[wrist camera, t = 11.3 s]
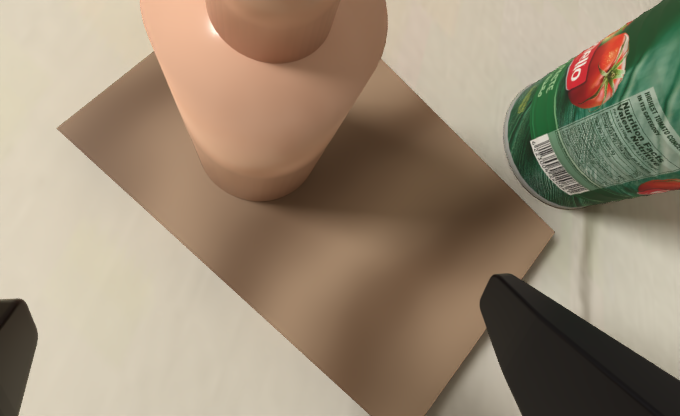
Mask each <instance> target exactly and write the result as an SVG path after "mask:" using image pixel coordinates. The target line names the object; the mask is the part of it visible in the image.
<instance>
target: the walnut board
mask: <svg viewBox="0 0 680 416" xmlns="http://www.w3.org/2000/svg"><path fill="white" fill-rule="evenodd" d="M57 129H58V130H59V131H60V132H61V133H62V134H63V135H64V136H65V137H66V138H68V139H69V140H70V141H71V142H72V143H73V144H74V145H75V146H76V147H77V148H78V149H80V150H81V151H82V152H83V153H84V154H85V155H86V156H87V157H88V158H89V159H91V160H92V161H93V162H94V163H95V164H96V165H97V166H98V167H99V168H100V169H101V170H103V171H104V172H105V173H106V174H107V175H108V176H109V177H110V178H111V179H112V180H113V181H115V182H116V183H117V184H118V185H119V186H120V187H121V188H122V189H123V190H124V191H126V192H127V193H128V194H129V195H130V196H131V197H132V198H133V199H134V200H135V201H136V202H138V203H139V204H140V205H141V206H142V207H143V208H144V209H145V210H146V211H147V212H148V213H150V214H151V215H152V216H153V217H154V218H155V219H156V220H157V221H158V222H159V223H161V224H162V225H163V226H164V227H165V228H166V229H167V230H168V231H169V232H170V233H171V234H173V235H174V236H175V237H176V238H177V239H178V240H179V241H180V242H181V243H182V244H183V245H185V246H186V247H187V248H188V249H189V250H190V251H191V252H192V253H193V254H194V255H196V256H197V257H198V258H199V259H200V260H201V261H202V262H203V263H204V264H205V265H206V266H208V267H209V268H210V269H211V270H212V271H213V272H214V273H215V274H216V275H217V276H218V277H220V278H221V279H222V280H223V281H224V282H225V283H226V284H227V285H228V286H229V287H231V288H232V289H233V290H234V291H235V292H236V293H237V294H238V295H239V296H240V297H241V298H243V299H244V300H245V301H246V302H247V303H248V304H249V305H250V306H251V307H252V308H254V309H255V310H256V311H257V312H258V313H259V314H260V315H261V316H262V317H263V318H264V319H266V320H267V321H268V322H269V323H270V324H271V325H272V326H273V327H274V328H275V329H276V330H278V331H279V332H280V333H281V334H282V335H283V336H284V337H285V338H286V339H287V340H289V341H290V342H291V343H292V344H293V345H294V346H295V347H296V348H297V349H298V350H299V351H301V352H302V353H303V354H304V355H305V356H306V357H307V358H308V359H309V360H310V361H311V362H313V363H314V364H315V365H316V366H317V367H318V368H319V369H320V370H321V371H322V372H324V373H325V374H326V375H327V376H328V377H329V378H330V379H331V380H332V381H333V382H334V383H336V384H337V385H338V386H339V387H340V388H341V389H342V390H343V391H344V392H345V393H346V394H348V395H349V396H350V397H351V398H352V399H353V400H354V401H355V402H356V403H357V404H359V405H360V406H361V407H362V408H363V409H364V410H365V411H366V412H367V413H368V414H369V415H371V416H425V414H426V413H427V411H428V410H429V408H430V407H431V406H432V404H433V403H434V401H435V400H436V399H437V397H438V396H439V394H440V393H441V392H442V390H443V389H444V387H445V386H446V385H447V383H448V382H449V380H450V379H451V378H452V376H453V375H454V373H455V372H456V371H457V369H458V368H459V366H460V365H461V364H462V362H463V361H464V359H465V358H466V357H467V355H468V354H469V352H470V351H471V350H472V348H473V347H474V345H475V344H476V343H477V341H478V340H479V338H480V337H481V335H482V334H483V333H484V331H485V330H486V325H485V322H484V319H483V317H482V314H481V311H480V303H479V302H480V298H481V296H482V294H483V291H484V289H485V287H486V285H487V283H488V281H489V279H490V277H491V276H492V275H494V274H503V273H509V274H513V275H514V276H516V277H518V278H519V279H522V278H523V277H524V275H525V274H526V272H527V271H528V269H529V268H530V267H531V265H532V264H533V262H534V261H535V260H536V258H537V257H538V255H539V254H540V253H541V251H542V250H543V248H544V247H545V246H546V244H547V243H548V241H549V240H550V239H551V237H552V236H553V234H554V233H555V232H554V231H553V230H552V229H551V228H550V227H549V226H548V225H547V224H546V223H545V222H544V221H543V220H542V219H541V218H540V217H539V216H538V215H537V214H536V213H535V212H534V211H533V210H532V209H531V208H530V207H529V206H528V205H527V204H526V203H525V202H524V201H523V200H522V199H521V198H520V197H519V196H518V195H517V194H516V193H515V192H514V191H513V190H512V189H511V188H510V187H509V186H508V185H507V184H506V183H505V182H504V181H503V180H502V179H501V178H500V177H499V176H498V175H497V174H496V173H495V172H494V171H493V170H492V169H491V168H490V167H489V166H488V165H487V164H486V163H485V162H484V161H483V160H482V159H481V158H480V157H479V156H478V155H477V154H476V153H475V152H474V151H473V150H472V149H471V148H470V147H469V146H468V145H467V144H466V143H465V142H464V141H463V140H462V139H461V138H460V137H459V136H458V135H457V134H456V133H455V132H454V131H453V130H452V129H451V128H450V127H449V126H448V125H447V124H446V123H445V122H444V121H443V120H442V119H441V118H440V117H439V116H438V115H437V114H436V113H435V112H434V111H433V110H432V109H431V108H430V107H429V106H428V105H427V104H426V103H425V102H424V101H423V100H422V99H421V98H420V97H419V96H418V95H417V94H416V93H415V92H414V91H413V90H412V89H411V88H410V87H409V86H408V85H407V84H406V83H405V82H404V81H403V80H402V79H401V78H400V77H399V76H398V75H397V74H396V73H395V72H394V71H393V70H392V69H391V68H390V67H389V66H388V65H387V64H386V63H385V62H384V61H383V60H382V59H380V61H379V63H378V65H377V68H376V69H375V71H374V72H373V74H372V76H371V77H370V79H369V80H368V82H367V84H366V85H365V87H364V88H363V90H362V92H361V93H360V95H359V96H358V98H357V100H356V101H355V103H354V104H353V106H352V108H351V109H350V111H349V112H348V114H347V116H346V117H345V119H344V120H343V122H342V124H341V125H340V127H339V128H338V130H337V132H336V133H335V135H334V136H333V138H332V140H331V141H330V143H329V144H328V146H327V148H326V149H325V151H324V152H323V154H322V156H321V157H320V159H319V160H318V162H317V164H316V165H315V167H314V168H313V170H312V172H311V173H310V175H309V176H308V178H307V179H306V180H305V182H304V183H303V184H302V185H301V186H300V187H298V188H297V189H296V190H295V191H293V192H292V193H290V194H288V195H286V196H284V197H281V198H279V199H275V200H270V201H261V202H259V201H249V200H244V199H240V198H237V197H235V196H233V195H230V194H228V193H227V192H225V191H224V190H222V189H221V188H219V187H218V186H217V185H216V184H215V183H214V182H213V181H212V180H211V179H210V178H209V176H208V175H207V174H206V172H205V170H204V169H203V167H202V165H201V162H200V160H199V158H198V155H197V153H196V150H195V148H194V146H193V143H192V141H191V138H190V136H189V134H188V131H187V129H186V126H185V124H184V122H183V119H182V117H181V114H180V112H179V110H178V107H177V105H176V102H175V100H174V97H173V95H172V93H171V90H170V88H169V85H168V83H167V81H166V78H165V76H164V73H163V71H162V69H161V66H160V64H159V61H158V59H157V57H156V54H155V52H152V53H151V54H150V55H148V56H147V57H146V58H145V59H143V60H142V61H141V62H140V63H138V64H137V65H136V66H135V67H133V68H132V69H131V70H130V71H128V72H127V73H126V74H124V75H123V76H122V77H121V78H119V79H118V80H117V81H116V82H114V83H113V84H112V85H111V86H109V87H108V88H107V89H106V90H104V91H103V92H102V93H100V94H99V95H98V96H97V97H95V98H94V99H93V100H92V101H90V102H89V103H88V104H87V105H85V106H84V107H83V108H82V109H80V110H79V111H78V112H76V113H75V114H74V115H73V116H71V117H70V118H69V119H68V120H66V121H65V122H64V123H63V124H61V125H60V126H59V127H58V128H57Z"/></svg>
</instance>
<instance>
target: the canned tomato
mask: <svg viewBox="0 0 680 416" xmlns="http://www.w3.org/2000/svg"><path fill="white" fill-rule="evenodd" d="M503 139H504V146H505V152H506V155H507V158H508V161H509V164H510V166H511V168H512V170H513V172H514V174H515V176H516V177H517V178H518V180H519V181H520V182H521V184H522V185H523V186H524V187H525V188H526V189H527V190H528V191H529V192H530V193H531V194H532V195H533V196H535V197H536V198H538V199H539V200H541V201H542V202H544V203H546V204H549V205H551V206H554V207H557V208H563V209H578V208H583V207H586V206H589V205H595V204H603V203H608V202H611V201H620V200H623V199H630V198H635V197H639V196H648V195H651V194H655V193H664V192H667V191H671V190H680V0H663V1H661V2H660V3H659V4H658V5H656V6H655V7H653V8H652V9H650V10H648V11H646V12H644V13H643V14H642V15H640V16H639V17H638V18H636V19H634V20H633V21H631V22H629V23H627V24H626V25H624V26H623V27H622V28H620V29H619V30H617V31H615V32H613V33H611V34H610V35H609V36H607V37H606V38H605V39H603V40H601V41H599V42H597V43H596V44H595V45H593V46H592V47H590V48H589V49H587V50H585V51H583V52H582V53H581V54H579V55H578V56H576V57H574V58H572V59H571V60H569V61H568V62H567V63H565V64H563V65H561V66H559V67H558V68H557V69H556V70H554V71H552V72H550V73H549V74H547V75H546V76H545V77H543V78H542V79H540V80H539V81H537V82H535V83H533V84H531V85H529V86H527V87H526V88H525V89H523V90H522V91H521V92H520V93H519V94H518V95H517V96H516V97H515V99H514V100H513V101H512V103H511V105H510V107H509V109H508V111H507V113H506V118H505V122H504V132H503Z"/></svg>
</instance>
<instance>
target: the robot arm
mask: <svg viewBox="0 0 680 416" xmlns="http://www.w3.org/2000/svg"><path fill="white" fill-rule="evenodd" d="M479 303H480V311H481V314H482V317H483V319H484V322H485V325H486V328H487V331H488V334H489V336H490V339H491V342H492V345H493V348H494V351H495V353H496V356H497V359H498V362H499V364H500V367H501V370H502V372H503V375H504V377H505V379H506V381H507V384H508V386H509V388H510V390H511V392H512V394H513V397H514V399H515V401H516V403H517V405H518V407H519V409H520V412H521V414H522V416H680V381H679V380H678V379H676V378H675V377H673V376H672V375H670V374H668V373H667V372H665V371H664V370H662V369H661V368H659V367H657V366H656V365H654V364H653V363H651V362H650V361H648V360H646V359H645V358H643V357H642V356H640V355H639V354H637V353H635V352H634V351H632V350H631V349H629V348H628V347H626V346H624V345H623V344H621V343H620V342H618V341H617V340H615V339H613V338H612V337H610V336H609V335H607V334H606V333H604V332H602V331H601V330H599V329H598V328H596V327H595V326H593V325H591V324H590V323H588V322H587V321H585V320H584V319H582V318H580V317H579V316H577V315H576V314H574V313H573V312H571V311H569V310H568V309H566V308H565V307H563V306H562V305H560V304H558V303H557V302H555V301H554V300H552V299H551V298H549V297H547V296H546V295H544V294H543V293H541V292H540V291H538V290H536V289H535V288H533V287H532V286H530V285H529V284H527V283H525V282H524V281H522V280H521V279H519V278H518V277H516V276H514V275H513V274H509V273H503V274H494V275H492V276H491V277H490V279H489V281H488V283H487V285H486V287H485V289H484V291H483V294H482V296H481V298H480V302H479ZM37 340H38V333H37V328H36V326H35V323H34V321H33V318H32V316H31V313H30V311H29V308H28V306H27V304H26V302H25V301H24V300H22V299H0V416H18V415H19V411H20V407H21V403H22V400H23V396H24V392H25V388H26V384H27V380H28V376H29V373H30V369H31V365H32V361H33V357H34V353H35V349H36V346H37Z"/></svg>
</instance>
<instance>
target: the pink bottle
mask: <svg viewBox="0 0 680 416" xmlns="http://www.w3.org/2000/svg"><path fill="white" fill-rule="evenodd" d="M140 8H141V13H142V18H143V23H144V26H145V29H146V32H147V34H148V37H149V40H150V42H151V45H152V47H153V49H154V52H155V54H156V57H157V59H158V61H159V64H160V66H161V69H162V71H163V73H164V76H165V78H166V81H167V83H168V85H169V88H170V90H171V93H172V95H173V97H174V100H175V102H176V105H177V107H178V110H179V112H180V114H181V117H182V119H183V122H184V124H185V126H186V129H187V131H188V134H189V136H190V138H191V141H192V143H193V146H194V148H195V150H196V153H197V155H198V158H199V160H200V162H201V165H202V167H203V169H204V170H205V172H206V174H207V175H208V176H209V178H210V179H211V180H212V181H213V182H214V183H215V184H216V185H217V186H218V187H219V188H221V189H222V190H224V191H225V192H227V193H228V194H230V195H233V196H235V197H237V198H240V199H244V200H249V201H259V202H261V201H270V200H275V199H279V198H281V197H284V196H286V195H288V194H290V193H292V192H293V191H295V190H296V189H297V188H298V187H300V186H301V185H302V184H303V183H304V182H305V180H306V179H307V178H308V176H309V175H310V173H311V172H312V170H313V168H314V167H315V165H316V164H317V162H318V160H319V159H320V157H321V156H322V154H323V152H324V151H325V149H326V148H327V146H328V144H329V143H330V141H331V140H332V138H333V136H334V135H335V133H336V132H337V130H338V128H339V127H340V125H341V124H342V122H343V120H344V119H345V117H346V116H347V114H348V112H349V111H350V109H351V108H352V106H353V104H354V103H355V101H356V100H357V98H358V96H359V95H360V93H361V92H362V90H363V88H364V87H365V85H366V84H367V82H368V80H369V79H370V77H371V76H372V74H373V72H374V71H375V69H376V68H377V65H378V63H379V61H380V59H381V56H382V54H383V50H384V47H385V43H386V36H387V29H388V15H387V8H386V1H385V0H140Z"/></svg>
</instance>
